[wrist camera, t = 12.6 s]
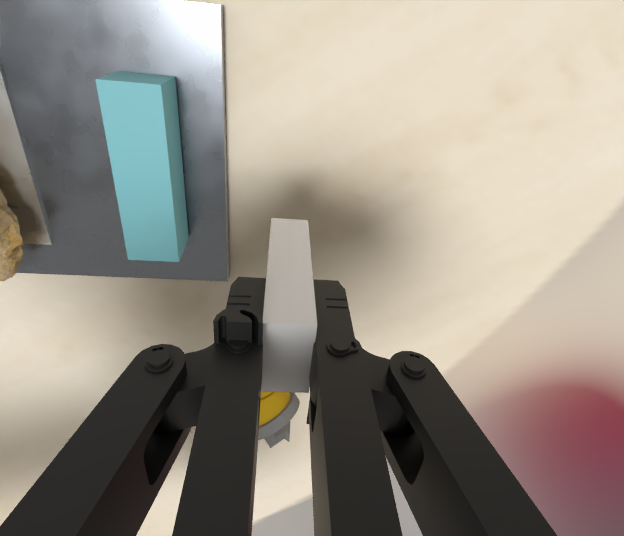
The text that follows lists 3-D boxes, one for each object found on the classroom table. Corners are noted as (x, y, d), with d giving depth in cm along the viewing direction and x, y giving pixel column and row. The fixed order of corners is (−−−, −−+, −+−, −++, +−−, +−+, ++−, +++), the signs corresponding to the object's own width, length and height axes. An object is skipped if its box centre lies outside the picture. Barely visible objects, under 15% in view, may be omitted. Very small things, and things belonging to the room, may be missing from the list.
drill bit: (254, 471, 34) (191, 378, 33) (276, 427, 39) (222, 344, 38) (304, 459, 32) (239, 358, 30) (322, 414, 37) (266, 325, 35)
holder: (-122, 258, 28) (-137, 268, 27) (-299, -52, 19) (-332, -56, 18) (229, 273, 30) (227, 282, 29) (223, 5, 21) (220, 4, 20)
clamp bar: (142, 236, 27) (128, 259, 24) (117, 71, 21) (95, 79, 19) (188, 238, 27) (179, 261, 24) (175, 76, 22) (160, 84, 19)
